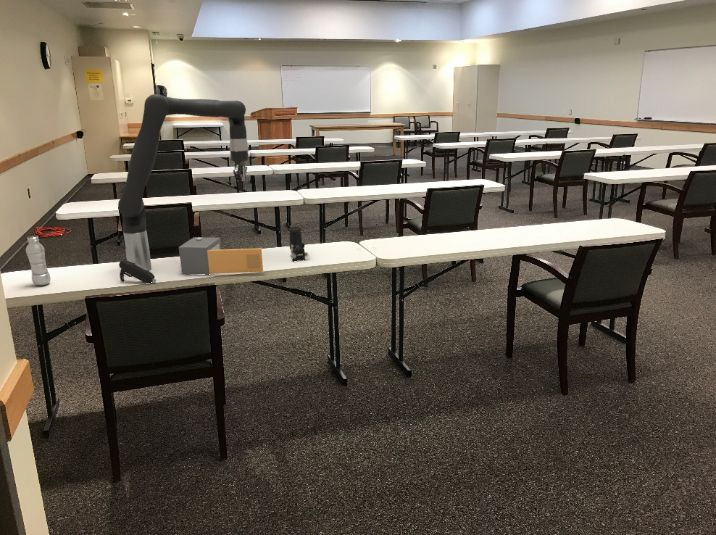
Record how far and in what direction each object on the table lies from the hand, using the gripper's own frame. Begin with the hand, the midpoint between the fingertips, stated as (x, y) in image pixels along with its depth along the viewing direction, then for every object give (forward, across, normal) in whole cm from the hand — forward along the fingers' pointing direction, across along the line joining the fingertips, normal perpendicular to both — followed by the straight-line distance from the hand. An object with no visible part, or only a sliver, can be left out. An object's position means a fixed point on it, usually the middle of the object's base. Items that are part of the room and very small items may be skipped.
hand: (241, 189), depth 244 cm
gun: (+34, +32, -35) cm, 58 cm away
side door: (+31, +21, +2) cm, 38 cm away
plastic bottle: (+34, +37, -74) cm, 89 cm away
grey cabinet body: (+32, +14, -15) cm, 38 cm away
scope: (+32, -4, +23) cm, 39 cm away
